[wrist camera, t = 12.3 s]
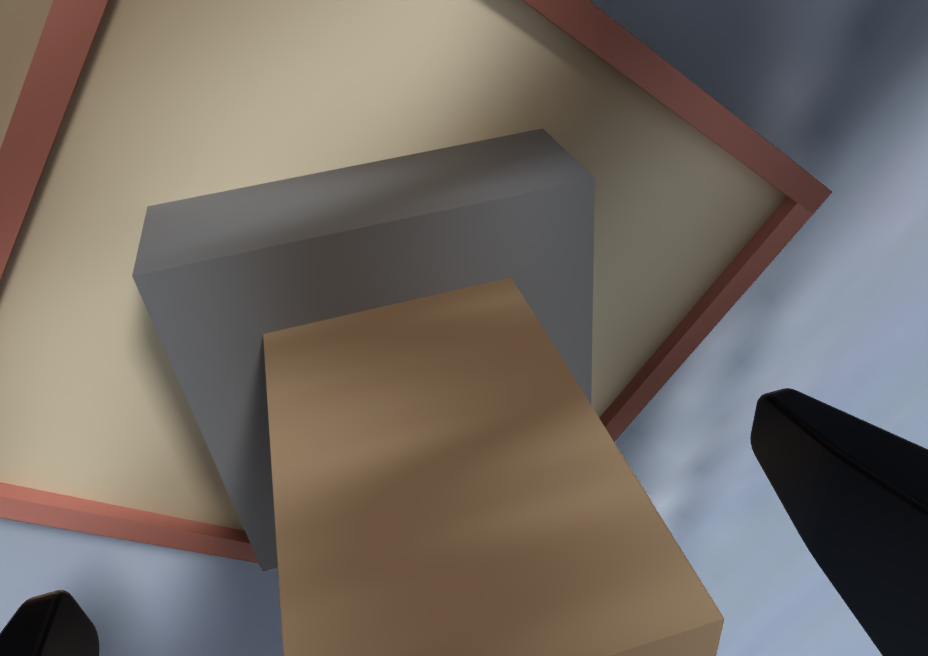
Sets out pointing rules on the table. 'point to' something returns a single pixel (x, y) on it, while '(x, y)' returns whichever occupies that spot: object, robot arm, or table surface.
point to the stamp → (420, 407)
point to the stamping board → (312, 151)
